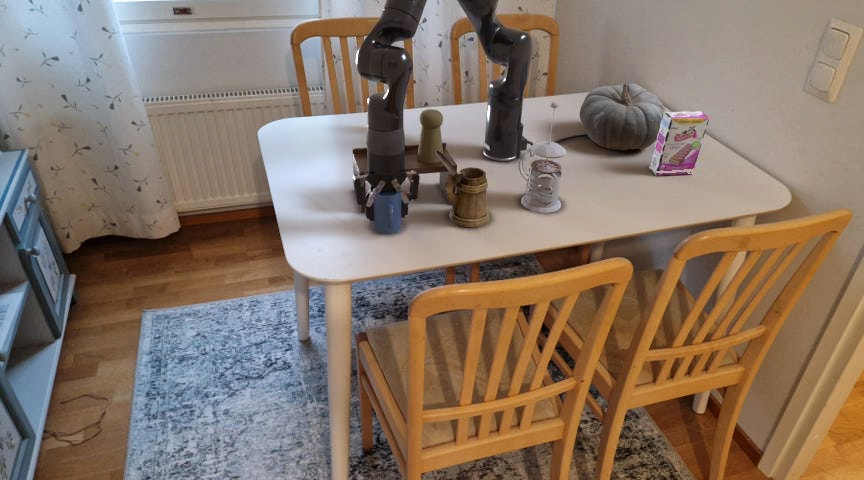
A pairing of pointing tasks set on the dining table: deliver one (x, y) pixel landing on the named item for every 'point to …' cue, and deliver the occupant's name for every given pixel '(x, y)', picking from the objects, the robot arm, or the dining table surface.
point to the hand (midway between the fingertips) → (386, 217)
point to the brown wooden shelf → (410, 164)
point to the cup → (387, 212)
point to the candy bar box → (678, 141)
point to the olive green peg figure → (430, 136)
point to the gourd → (622, 116)
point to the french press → (543, 195)
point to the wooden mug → (466, 194)
